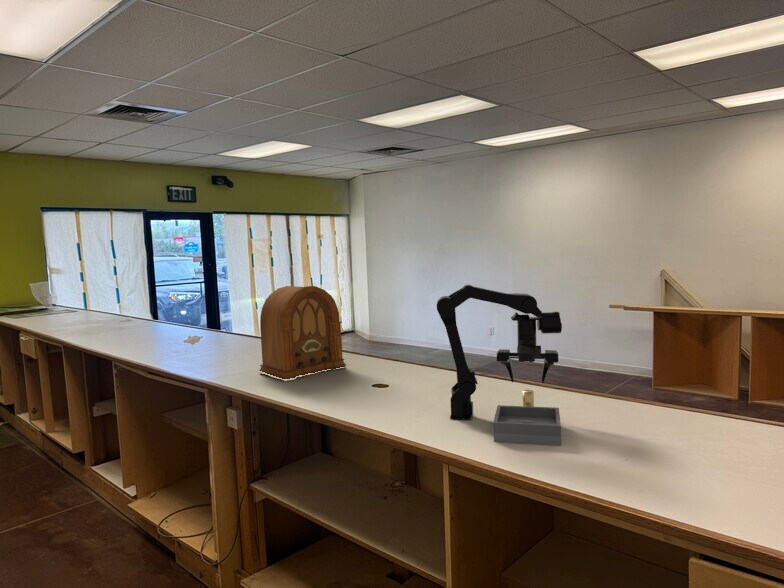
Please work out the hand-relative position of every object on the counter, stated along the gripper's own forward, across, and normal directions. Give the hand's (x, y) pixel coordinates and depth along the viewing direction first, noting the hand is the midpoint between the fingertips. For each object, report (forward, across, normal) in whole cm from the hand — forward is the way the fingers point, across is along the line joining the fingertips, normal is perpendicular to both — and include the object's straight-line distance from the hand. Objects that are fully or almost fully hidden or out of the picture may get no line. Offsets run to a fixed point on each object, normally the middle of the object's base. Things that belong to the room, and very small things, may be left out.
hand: (527, 382), depth 165 cm
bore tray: (+11, 0, -16) cm, 19 cm away
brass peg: (+11, 0, 0) cm, 11 cm away
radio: (+12, -103, +50) cm, 115 cm away
